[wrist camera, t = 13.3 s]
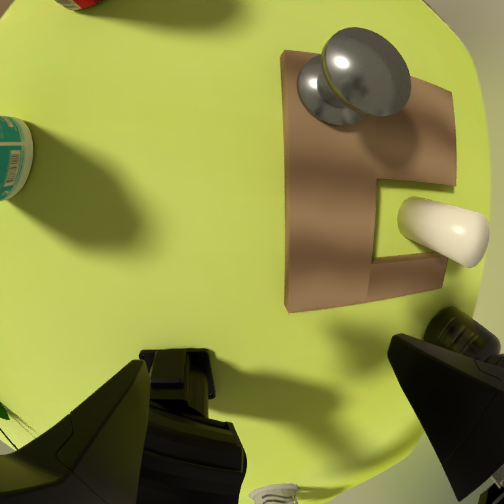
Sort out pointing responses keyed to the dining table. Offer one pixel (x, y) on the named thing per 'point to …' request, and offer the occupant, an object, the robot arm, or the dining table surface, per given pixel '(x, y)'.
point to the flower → (2, 413)
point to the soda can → (77, 3)
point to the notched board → (357, 194)
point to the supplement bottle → (464, 337)
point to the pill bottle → (14, 155)
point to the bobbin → (354, 79)
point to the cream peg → (445, 229)
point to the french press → (275, 494)
